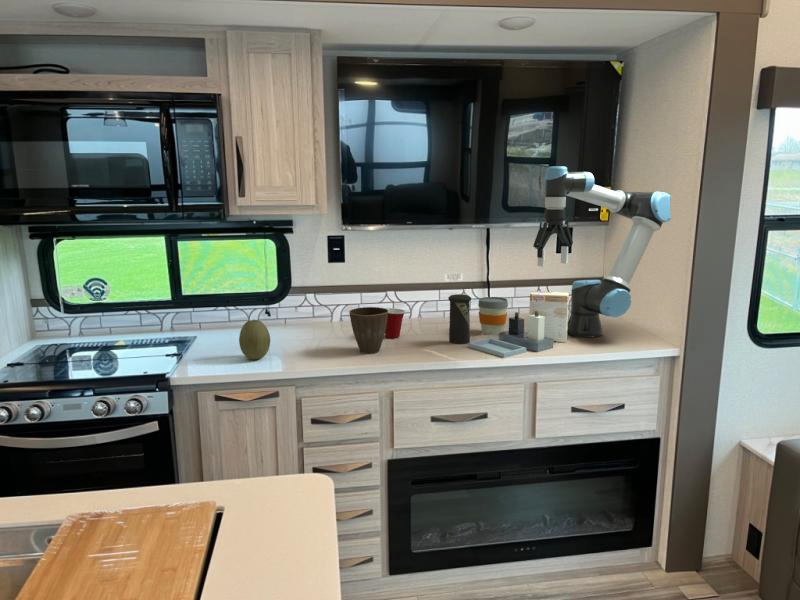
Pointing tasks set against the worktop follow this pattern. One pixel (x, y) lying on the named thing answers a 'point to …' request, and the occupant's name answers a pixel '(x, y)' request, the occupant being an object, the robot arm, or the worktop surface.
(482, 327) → the reusable coffee cup
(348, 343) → the worktop surface
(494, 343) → the tray
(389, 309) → the plastic cup
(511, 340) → the grey socket base
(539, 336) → the plug
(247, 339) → the fruit
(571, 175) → the robot arm
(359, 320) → the plant pot
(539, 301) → the coffeecake box
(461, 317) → the container
